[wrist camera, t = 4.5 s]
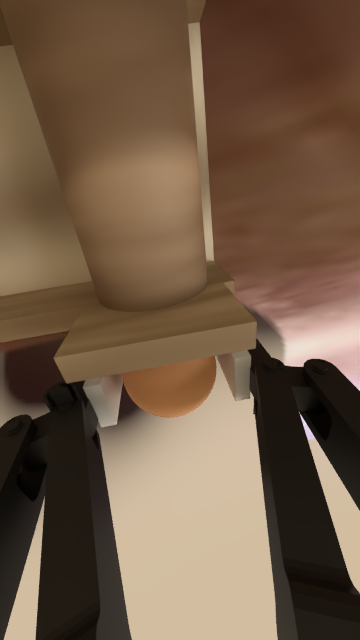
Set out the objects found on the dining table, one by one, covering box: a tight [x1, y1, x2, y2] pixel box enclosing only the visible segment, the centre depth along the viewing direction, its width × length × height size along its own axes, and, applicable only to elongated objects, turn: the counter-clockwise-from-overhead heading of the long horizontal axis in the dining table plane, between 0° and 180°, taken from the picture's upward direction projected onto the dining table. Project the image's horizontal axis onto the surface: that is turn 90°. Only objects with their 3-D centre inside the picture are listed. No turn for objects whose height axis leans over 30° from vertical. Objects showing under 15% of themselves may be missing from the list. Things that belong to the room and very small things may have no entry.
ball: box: [122, 356, 216, 417], centre depth 12 cm, size 5×5×5 cm
